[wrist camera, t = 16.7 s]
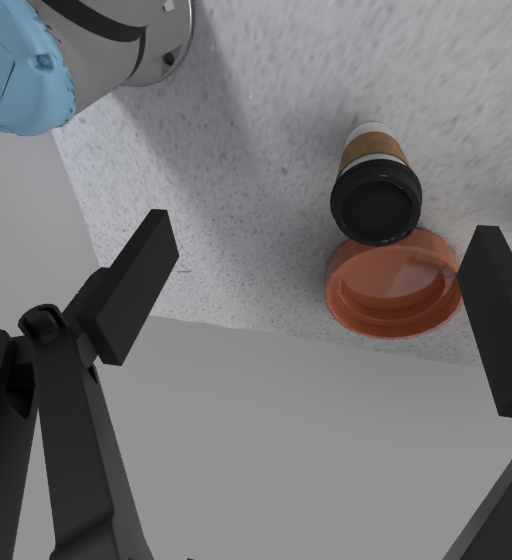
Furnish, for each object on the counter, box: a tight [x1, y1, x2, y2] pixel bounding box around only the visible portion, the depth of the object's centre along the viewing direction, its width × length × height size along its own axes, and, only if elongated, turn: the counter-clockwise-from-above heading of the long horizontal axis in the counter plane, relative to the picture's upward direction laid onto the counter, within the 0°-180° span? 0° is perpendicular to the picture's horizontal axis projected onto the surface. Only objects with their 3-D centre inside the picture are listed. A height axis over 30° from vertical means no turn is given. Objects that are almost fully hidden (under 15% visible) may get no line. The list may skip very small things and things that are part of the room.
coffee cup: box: [330, 122, 422, 247], centre depth 39 cm, size 8×8×15 cm
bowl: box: [325, 228, 464, 340], centre depth 55 cm, size 19×19×5 cm
